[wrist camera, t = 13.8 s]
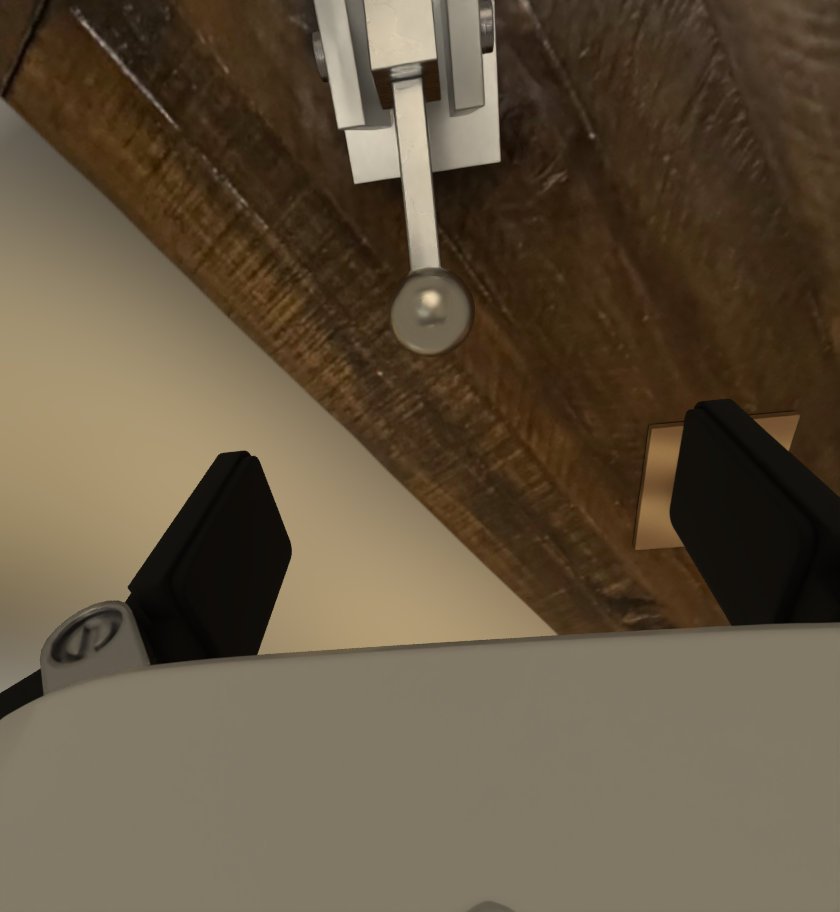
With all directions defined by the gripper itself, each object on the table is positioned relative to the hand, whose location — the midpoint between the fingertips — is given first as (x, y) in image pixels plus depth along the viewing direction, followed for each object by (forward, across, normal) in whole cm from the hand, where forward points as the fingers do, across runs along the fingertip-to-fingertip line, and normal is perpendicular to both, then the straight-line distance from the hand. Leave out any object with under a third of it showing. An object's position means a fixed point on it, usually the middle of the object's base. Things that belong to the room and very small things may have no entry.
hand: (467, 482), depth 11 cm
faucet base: (+23, +1, -9) cm, 25 cm away
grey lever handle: (+12, +1, -5) cm, 13 cm away
